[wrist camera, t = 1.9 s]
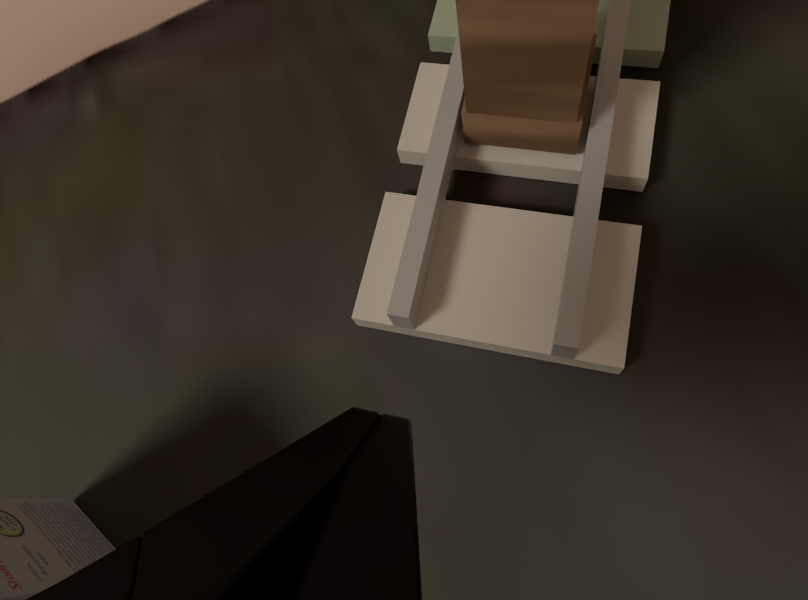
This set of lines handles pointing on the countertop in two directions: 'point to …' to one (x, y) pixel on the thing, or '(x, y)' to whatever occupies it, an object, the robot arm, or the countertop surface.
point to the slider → (526, 71)
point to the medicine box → (44, 544)
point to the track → (520, 214)
